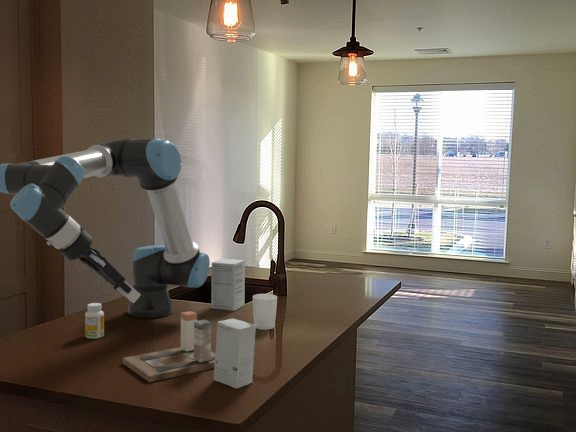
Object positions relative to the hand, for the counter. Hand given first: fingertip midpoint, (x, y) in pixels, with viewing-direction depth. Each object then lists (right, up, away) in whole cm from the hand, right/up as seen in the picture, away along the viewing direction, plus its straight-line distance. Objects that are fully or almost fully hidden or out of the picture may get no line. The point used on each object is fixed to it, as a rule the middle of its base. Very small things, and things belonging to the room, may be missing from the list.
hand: (136, 298), depth 159 cm
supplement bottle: (-19, -15, +27) cm, 36 cm away
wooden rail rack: (+9, -18, +4) cm, 21 cm away
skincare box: (+26, -20, -7) cm, 33 cm away
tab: (+12, -15, +11) cm, 22 cm away
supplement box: (+17, -12, +66) cm, 69 cm away
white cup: (+31, -15, +42) cm, 54 cm away
